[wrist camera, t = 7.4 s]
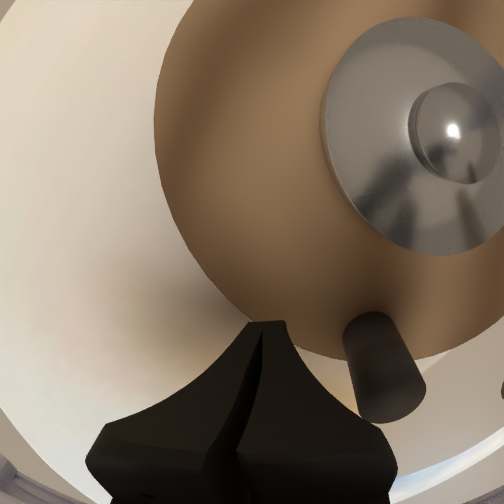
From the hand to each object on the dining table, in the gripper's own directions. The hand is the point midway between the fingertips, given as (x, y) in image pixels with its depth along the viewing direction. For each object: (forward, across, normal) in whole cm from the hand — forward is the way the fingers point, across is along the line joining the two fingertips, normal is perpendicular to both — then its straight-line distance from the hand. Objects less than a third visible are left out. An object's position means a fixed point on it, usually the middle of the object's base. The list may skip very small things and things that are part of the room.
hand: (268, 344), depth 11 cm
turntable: (+4, -7, -7) cm, 10 cm away
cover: (+2, -6, -7) cm, 10 cm away
